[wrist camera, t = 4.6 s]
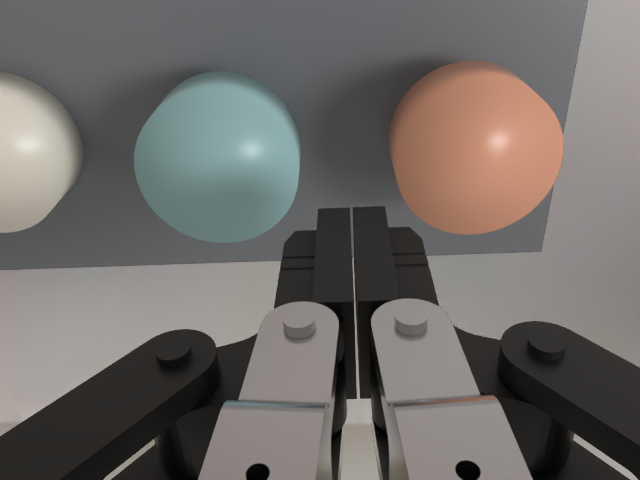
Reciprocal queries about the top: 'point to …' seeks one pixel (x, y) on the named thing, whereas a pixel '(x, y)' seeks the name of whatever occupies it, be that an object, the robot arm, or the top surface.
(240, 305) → the top surface
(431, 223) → the terracotta button
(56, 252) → the console
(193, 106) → the teal button
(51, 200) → the cream button
